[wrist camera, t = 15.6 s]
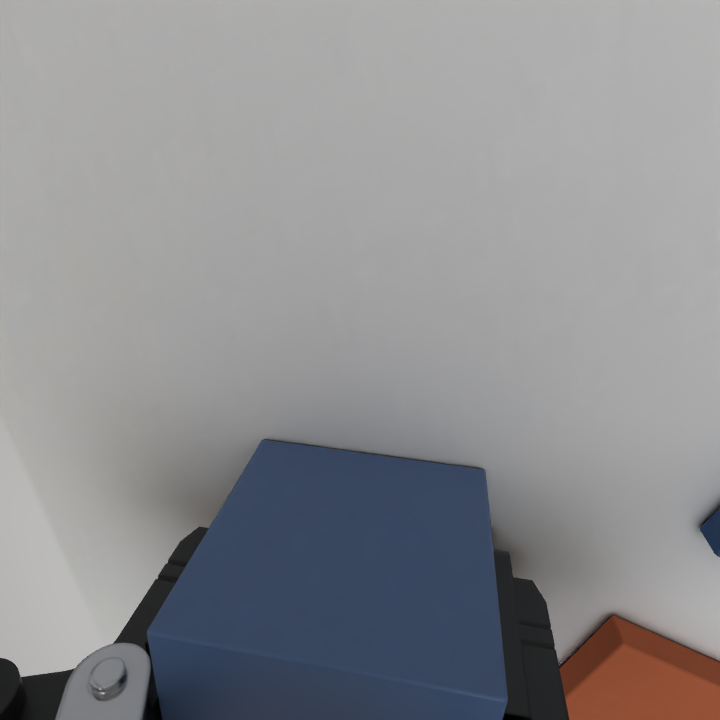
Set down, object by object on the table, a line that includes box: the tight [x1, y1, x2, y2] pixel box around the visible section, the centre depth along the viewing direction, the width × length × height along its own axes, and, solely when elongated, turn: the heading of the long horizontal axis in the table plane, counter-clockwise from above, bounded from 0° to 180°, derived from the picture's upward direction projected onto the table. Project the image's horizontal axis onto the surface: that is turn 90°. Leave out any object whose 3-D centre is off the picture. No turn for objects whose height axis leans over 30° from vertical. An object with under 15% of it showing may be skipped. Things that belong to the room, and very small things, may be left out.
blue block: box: [147, 440, 508, 720], centre depth 10 cm, size 5×5×5 cm
